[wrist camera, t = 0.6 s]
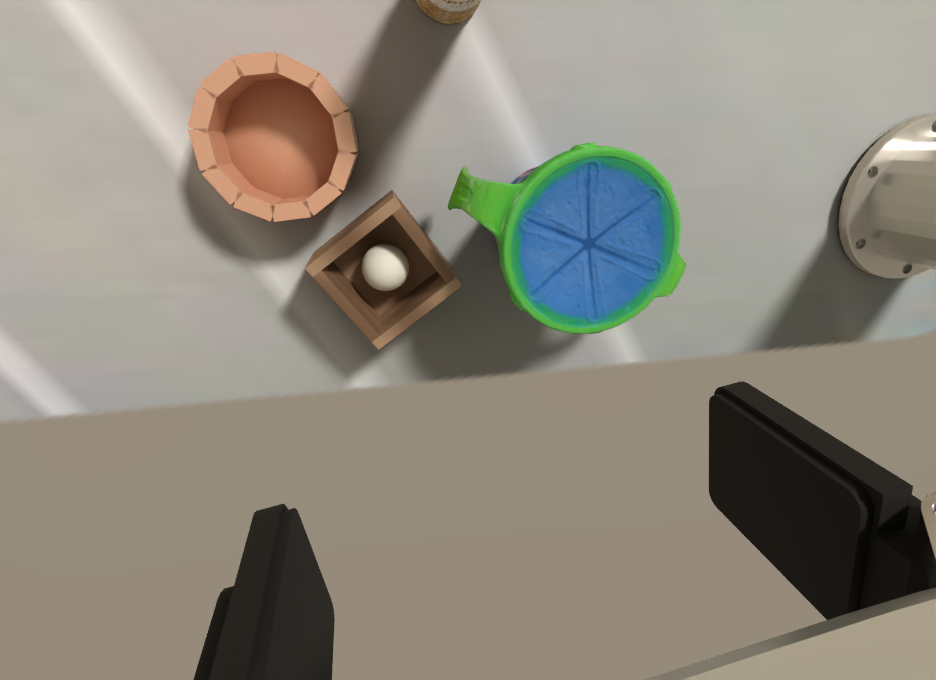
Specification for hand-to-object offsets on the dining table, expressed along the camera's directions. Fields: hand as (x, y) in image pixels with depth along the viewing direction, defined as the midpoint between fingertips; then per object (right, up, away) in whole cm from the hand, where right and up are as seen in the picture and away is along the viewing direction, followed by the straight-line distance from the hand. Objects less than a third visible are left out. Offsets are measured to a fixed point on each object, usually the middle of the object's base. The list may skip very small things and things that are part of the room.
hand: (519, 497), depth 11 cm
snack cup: (+4, +12, +27) cm, 30 cm away
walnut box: (-7, +9, +26) cm, 29 cm away
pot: (-13, +16, +23) cm, 31 cm away
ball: (-7, +9, +26) cm, 28 cm away
